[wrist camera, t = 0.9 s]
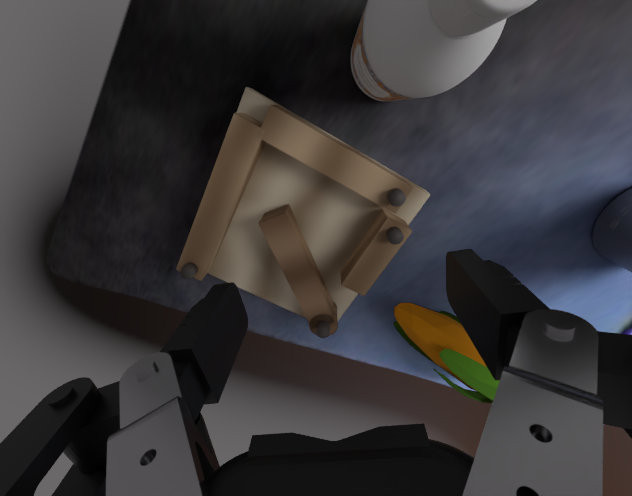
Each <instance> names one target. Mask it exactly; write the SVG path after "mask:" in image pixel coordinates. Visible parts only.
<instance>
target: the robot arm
mask: <svg viewBox="0 0 632 496" xmlns="http://www.w3.org/2000/svg"><path fill="white" fill-rule="evenodd" d="M592 238H593V245H594V247H595V249H596V251H597V252H598V253H599V254H600V255H601V256H603V257H605V258H606V259H608V260H610V261H612V262H614V263H616V264H617V265H619V266H621V267H623V268H625V269H626V270H628V271H630V272H632V188H631V189H629V190H627V191H625V192H624V193H622V194H621V195H619V196H618V197H617V198H615V199H614V200H613V201H612V202H611V203H609V205H608V206H607V207H606V208H605V209H604V210H603V211H602V213H601V214H600V216H599V218H598V219H597V221H596V224H595V226H594V229H593V235H592ZM446 291H447V297H448V300H449V303H450V306H451V307H452V309H453V311H454V312H455V314H456V316H457V317H458V319H459V321H460V323H461V324H462V326H463V328H464V329H465V331H466V333H467V334H468V336H469V338H470V339H471V341H472V343H473V344H474V346H475V348H476V349H477V351H478V353H479V354H480V356H481V358H482V359H483V361H484V363H485V364H486V366H487V368H488V370H489V371H490V373H491V375H492V376H493V378H494V380H495V381H497V380H500V382H499V385H498V388H497V391H496V394H495V397H494V400H493V403H492V406H491V410H490V412H489V416H488V419H487V422H486V425H485V428H484V431H483V434H482V437H481V440H480V443H479V446H478V449H477V452H476V456H475V458H474V457H472V456H470V455H469V454H467V453H465V452H463V451H461V450H459V449H457V448H455V447H453V446H450V445H448V444H445V443H442V442H439V441H435V440H431V439H428V436H427V432H426V429H425V425H424V424H411V425H397V426H383V427H377V428H374V429H371V430H368V431H365V432H362V433H359V434H356V435H353V436H351V437H348V438H345V439H342V440H339V441H328V440H324V439H319V438H314V437H310V436H305V435H301V434H296V433H280V434H267V435H266V434H265V435H253V436H252V439H251V443H250V447H249V451H247V452H245V453H243V454H241V455H239V456H236V457H234V458H233V459H231V460H229V461H228V462H226V463H225V464H223V465H222V466H221V467H220V465H219V463H218V460H217V457H216V454H215V451H214V448H213V446H212V442H211V439H210V437H209V433H208V430H207V427H206V424H205V421H204V419H203V416H202V414H201V413H200V411H201V409H202V407H203V404H214V403H218V402H219V399H220V397H221V394H222V391H223V389H224V387H225V384H226V382H227V379H228V377H229V374H230V372H231V369H232V366H233V364H234V361H235V359H236V356H237V354H238V351H239V349H240V346H241V344H242V341H243V339H244V336H245V334H246V331H247V328H248V317H247V313H246V310H245V307H244V305H243V302H242V299H241V296H240V293H239V291H238V288H237V286H236V284H235V283H233V282H231V283H224V284H217V285H214V286H213V287H212V288H211V289H210V291H209V292H208V294H207V295H206V297H205V298H204V299H202V300H201V301H199V302H198V303H197V304H196V305H194V306H193V307H192V308H191V309H190V311H189V312H188V314H187V315H186V316H185V319H183V321H182V322H181V323H180V326H179V327H178V328H177V329H176V330H175V332H174V333H173V334H172V336H171V337H170V339H169V340H168V342H167V343H166V344H165V346H164V347H163V348H162V350H161V351H160V352H159V353H154V354H151V355H148V356H146V357H144V358H142V359H140V360H139V361H137V362H136V363H134V364H133V365H132V366H131V367H130V368H128V369H127V371H126V372H125V373H124V374H123V376H122V377H121V379H120V381H118V382H116V383H113V384H110V385H107V386H104V387H102V388H98V389H97V387H96V386H95V384H94V383H93V382H92V380H90V379H89V378H78V379H75V380H72V381H70V382H67V383H66V384H63V385H62V386H60V387H58V388H57V389H55V390H54V391H52V392H51V393H50V394H48V395H47V396H46V397H45V398H44V399H43V400H42V401H41V402H40V403H39V404H38V405H37V406H36V407H35V408H34V409H33V410H32V411H31V412H30V413H29V414H28V415H27V416H26V417H25V419H23V420H22V422H21V423H20V424H19V425H18V426H17V427H16V428H15V429H14V430H13V431H12V432H11V433H10V434H9V435H8V436H7V437H6V438H5V439H4V440H3V442H1V443H0V496H34V493H35V490H36V488H37V486H38V485H39V483H40V482H41V480H42V479H43V477H44V476H45V475H46V474H47V472H48V471H49V470H50V468H51V467H52V466H53V464H54V463H55V461H56V460H57V459H58V458H59V456H60V455H61V454H62V452H64V454H65V455H66V456H67V457H68V458H69V459H70V460H71V461H72V463H73V465H72V467H71V468H70V470H69V471H68V473H67V474H66V476H65V477H64V479H63V480H62V482H61V483H60V484H59V486H58V487H57V489H56V490H55V492H54V493H53V495H52V496H602V479H603V476H602V474H603V472H602V471H603V424H606V425H611V426H616V427H621V428H623V429H624V430H625V431H626V432H627V433H628V434H629V436H630V437H631V438H632V335H628V334H617V333H607V332H599V331H597V330H596V329H595V328H594V327H593V326H592V325H591V324H590V323H589V322H587V321H586V320H584V319H582V318H581V317H579V316H576V315H574V314H571V313H568V312H564V311H560V310H553V309H549V308H548V307H547V306H546V305H545V304H544V303H543V302H542V301H541V300H539V299H538V298H537V297H536V296H535V295H534V294H533V293H532V292H531V291H530V290H529V289H528V288H526V287H525V286H524V285H522V284H521V282H520V281H519V280H518V279H517V278H516V277H513V275H512V274H511V273H510V272H509V271H508V270H507V269H506V268H505V267H503V266H501V265H499V264H497V263H494V262H492V261H490V260H488V261H483V260H482V259H481V258H480V257H479V256H478V255H477V254H476V253H475V252H474V251H473V250H471V249H466V250H459V251H452V252H448V253H447V255H446Z"/></svg>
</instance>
